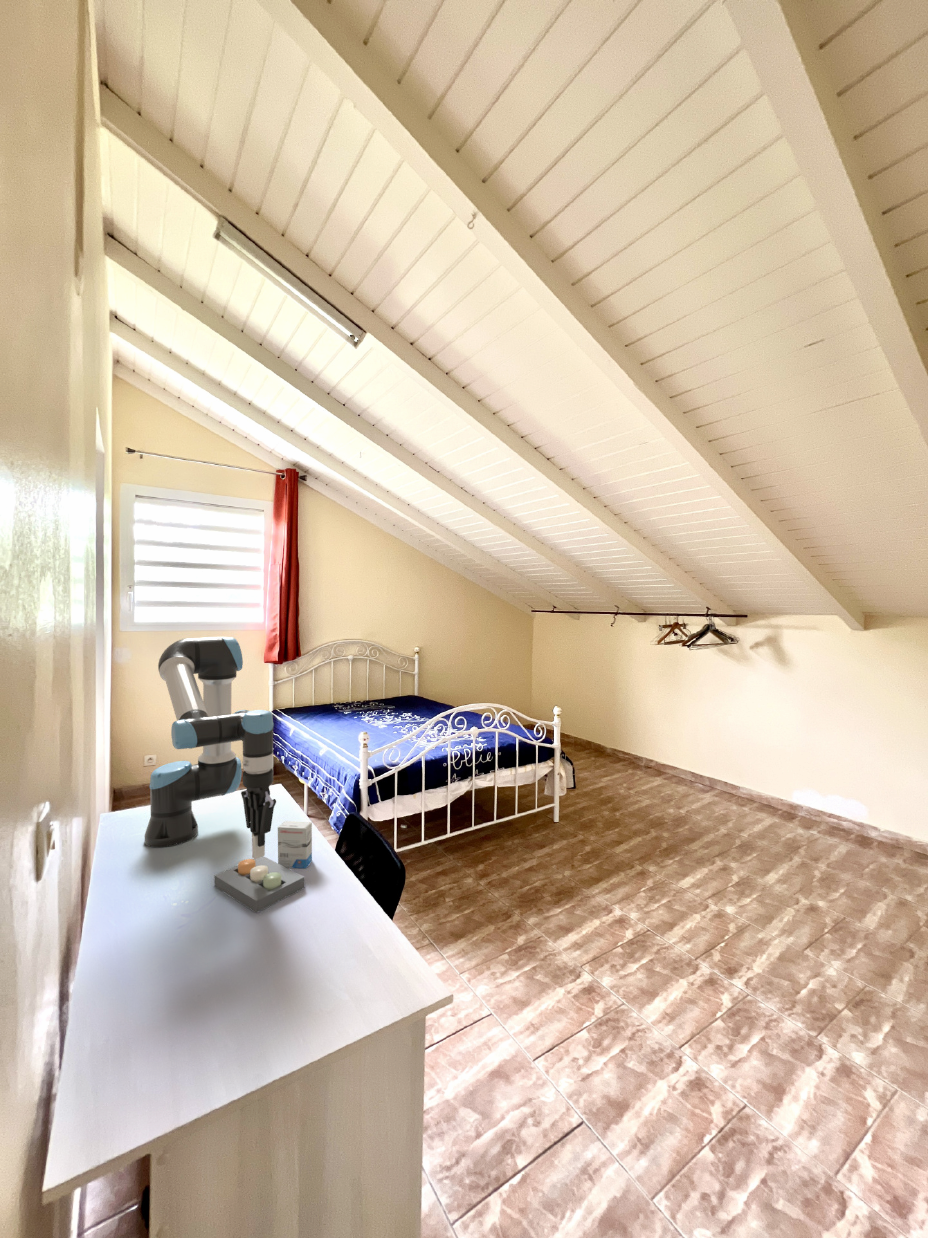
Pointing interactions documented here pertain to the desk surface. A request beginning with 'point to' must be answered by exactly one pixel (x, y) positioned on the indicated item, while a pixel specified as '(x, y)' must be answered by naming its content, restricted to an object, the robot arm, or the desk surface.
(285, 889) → the panel
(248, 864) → the orange button
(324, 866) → the desk surface
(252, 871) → the cream button
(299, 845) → the ink box
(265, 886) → the green button
